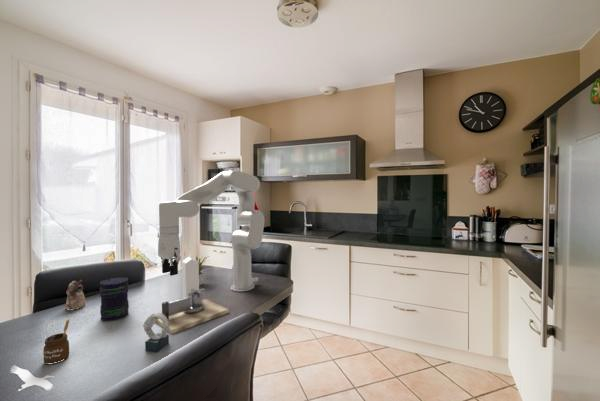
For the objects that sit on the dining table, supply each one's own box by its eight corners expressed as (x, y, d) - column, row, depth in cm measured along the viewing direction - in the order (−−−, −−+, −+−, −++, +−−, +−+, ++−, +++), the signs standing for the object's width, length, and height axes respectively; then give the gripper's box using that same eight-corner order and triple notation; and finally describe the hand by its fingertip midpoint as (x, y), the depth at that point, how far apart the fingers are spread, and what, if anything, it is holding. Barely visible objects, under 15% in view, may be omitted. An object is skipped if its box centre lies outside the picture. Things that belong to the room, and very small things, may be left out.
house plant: (201, 278, 167) (201, 251, 166) (216, 282, 159) (216, 254, 158) (179, 284, 155) (179, 255, 155) (194, 289, 147) (193, 259, 147)
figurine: (63, 307, 124) (63, 281, 124) (83, 302, 129) (83, 277, 129) (66, 312, 119) (65, 284, 119) (86, 307, 125) (86, 280, 124)
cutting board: (206, 301, 130) (206, 296, 130) (228, 312, 118) (228, 307, 118) (151, 319, 112) (151, 313, 112) (171, 334, 100) (171, 327, 100)
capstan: (199, 303, 123) (199, 286, 123) (209, 308, 118) (209, 290, 118) (158, 317, 110) (157, 297, 110) (166, 323, 105) (166, 303, 104)
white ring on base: (153, 341, 95) (152, 309, 95) (173, 344, 93) (172, 312, 93) (140, 350, 90) (139, 316, 90) (161, 353, 88) (160, 319, 88)
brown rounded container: (51, 355, 87) (50, 317, 87) (74, 352, 89) (73, 315, 88) (38, 366, 81) (37, 326, 81) (63, 363, 83) (62, 324, 83)
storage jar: (134, 312, 118) (133, 278, 118) (112, 323, 109) (111, 285, 109) (117, 309, 122) (116, 276, 121) (94, 319, 112) (93, 282, 112)
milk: (186, 304, 128) (185, 256, 127) (182, 300, 132) (181, 254, 132) (199, 301, 131) (198, 254, 130) (195, 297, 136) (194, 252, 135)
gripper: (150, 230, 118) (151, 272, 118) (171, 233, 108) (172, 279, 108) (167, 228, 124) (168, 268, 124) (189, 231, 114) (189, 275, 114)
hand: (170, 273), depth 116 cm, fingers open, 5 cm apart
